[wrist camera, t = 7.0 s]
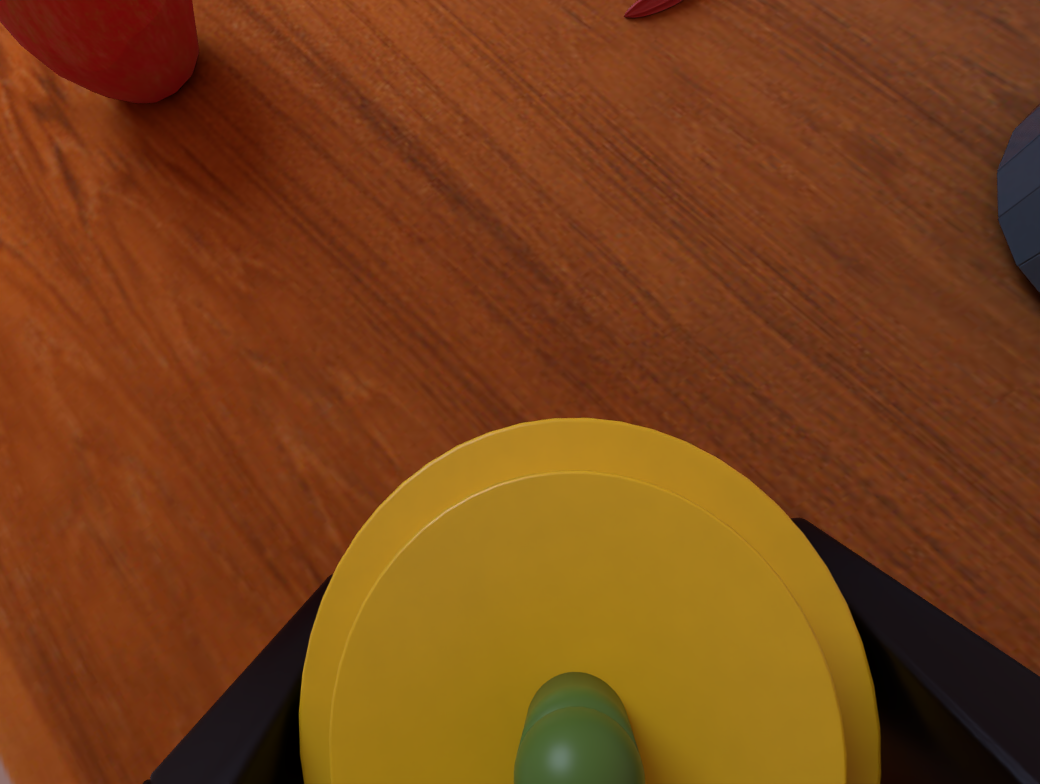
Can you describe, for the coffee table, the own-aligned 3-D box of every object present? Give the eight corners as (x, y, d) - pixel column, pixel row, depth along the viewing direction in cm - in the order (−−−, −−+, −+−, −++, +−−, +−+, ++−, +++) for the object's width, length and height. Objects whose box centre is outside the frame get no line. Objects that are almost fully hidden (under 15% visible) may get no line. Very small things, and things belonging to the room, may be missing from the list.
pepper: (742, 696, 14) (1397, 1300, 3) (495, 784, 14) (203, 1720, 3) (643, 451, 16) (814, 239, 5) (423, 528, 16) (67, 502, 5)
